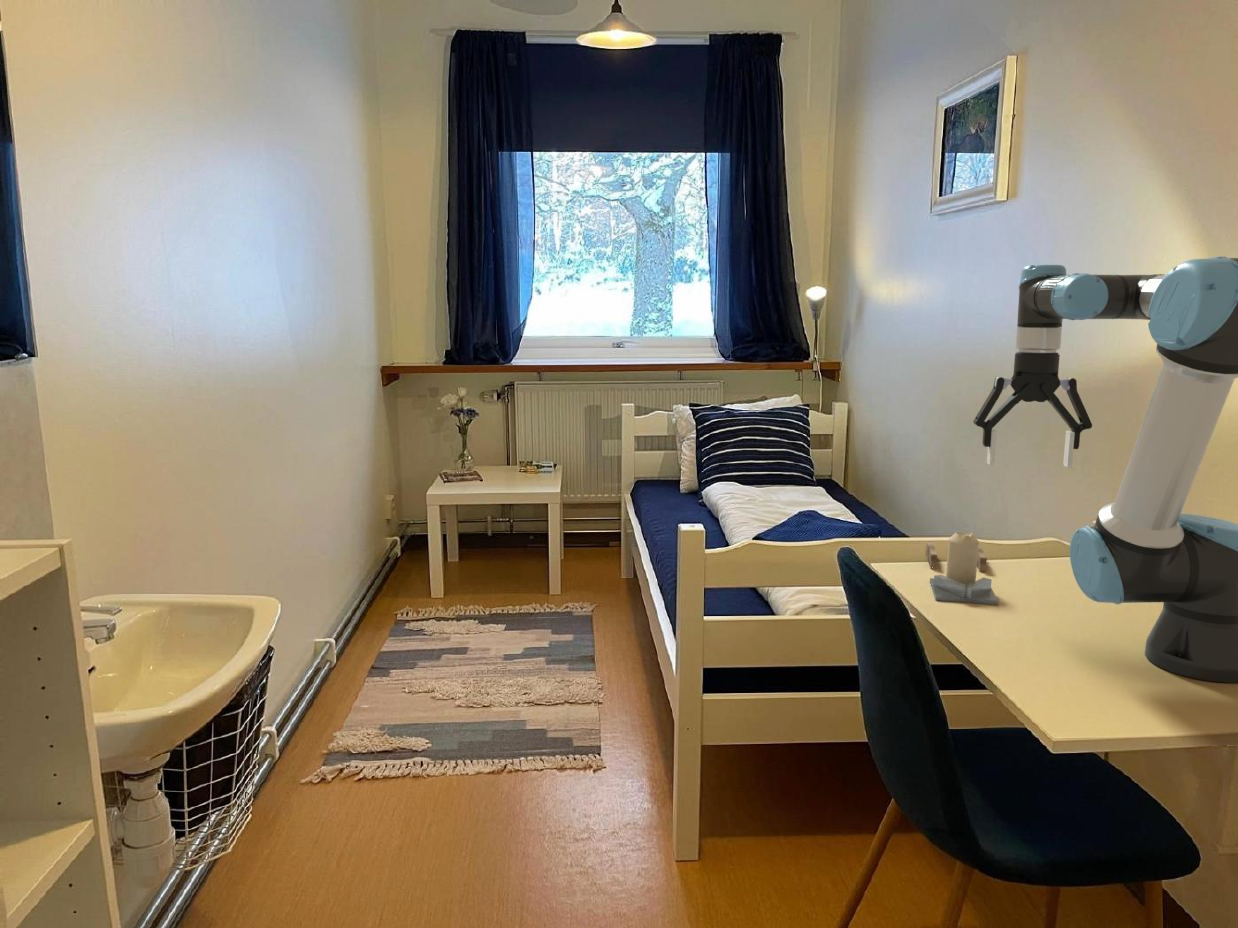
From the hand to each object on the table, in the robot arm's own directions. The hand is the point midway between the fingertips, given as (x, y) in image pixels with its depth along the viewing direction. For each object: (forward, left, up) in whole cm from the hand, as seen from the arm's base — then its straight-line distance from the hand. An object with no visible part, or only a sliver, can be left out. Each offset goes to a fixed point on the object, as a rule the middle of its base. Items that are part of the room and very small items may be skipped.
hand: (1028, 465), depth 176 cm
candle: (+2, +10, -25) cm, 27 cm away
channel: (+18, +9, -25) cm, 32 cm away
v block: (-3, +10, -25) cm, 27 cm away
